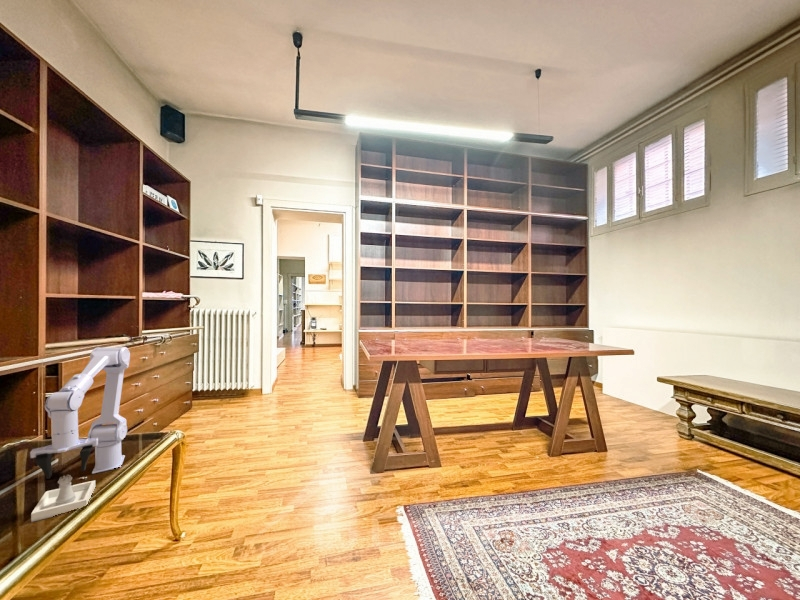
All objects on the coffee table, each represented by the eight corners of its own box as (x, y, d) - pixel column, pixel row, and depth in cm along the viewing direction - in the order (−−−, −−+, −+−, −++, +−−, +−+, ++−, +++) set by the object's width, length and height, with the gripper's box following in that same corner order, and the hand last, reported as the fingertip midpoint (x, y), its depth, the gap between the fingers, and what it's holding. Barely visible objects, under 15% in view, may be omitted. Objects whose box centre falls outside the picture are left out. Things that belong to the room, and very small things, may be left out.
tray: (46, 499, 103) (45, 491, 103) (95, 487, 110) (95, 480, 109) (31, 522, 94) (31, 513, 93) (86, 507, 100) (86, 499, 100)
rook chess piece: (75, 495, 105) (75, 471, 104) (76, 502, 101) (75, 477, 101) (55, 501, 101) (54, 476, 101) (55, 509, 98) (54, 483, 98)
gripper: (25, 441, 93) (27, 487, 94) (93, 430, 101) (95, 472, 102) (35, 431, 99) (36, 475, 100) (99, 421, 107) (100, 462, 108)
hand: (66, 473), depth 101 cm, fingers open, 7 cm apart
